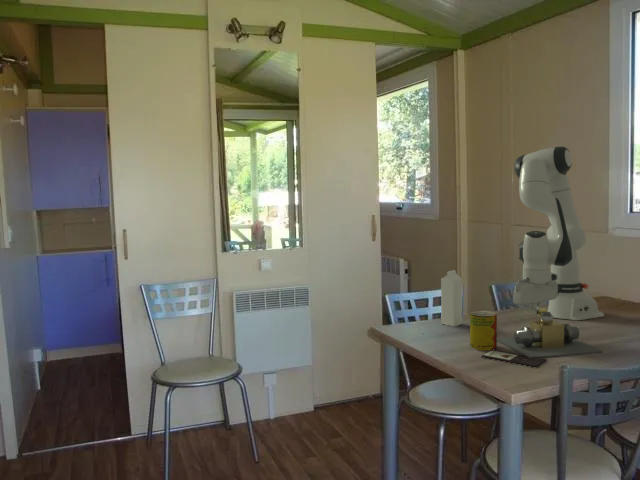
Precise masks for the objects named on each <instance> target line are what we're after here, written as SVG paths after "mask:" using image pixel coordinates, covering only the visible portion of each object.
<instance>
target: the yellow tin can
mask: <svg viewBox="0 0 640 480" xmlns="http://www.w3.org/2000/svg"><path fill="white" fill-rule="evenodd" d="M469 314H470V315H469V318H470V319H469V327H470V328H469V335H470V336H469V342H470V343H469V346H471V347H472V348H475V349H478V350H477V351H481V350H490V351H492V350H493V349H495V350H496V349H497V348H498V341H497V338H498V313H497V312H495V311H492V310H483V309H482V310H473V311H470V312H469ZM471 347H470V348H471ZM472 348H471V349H472ZM475 349H474V350H475Z"/></svg>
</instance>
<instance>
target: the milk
mask: <svg viewBox="0 0 640 480" xmlns="http://www.w3.org/2000/svg"><path fill="white" fill-rule="evenodd" d="M440 283H441V284H440V292H441V293H440V294H441V296H440V297H441V300H440V301H441V302H440V303H441V305H440V306H441V309H440V310H441V325H442V324H445V325H444V326H448V325H450V326H449V327H453V326H454V327H458V326H459V325H463V278H462V277H461V276H460V275H459V274H457V271H456V269H452V270H449V271H447V272H446V275H445V276H443V277H442V278H441V279H440Z"/></svg>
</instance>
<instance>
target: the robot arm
mask: <svg viewBox="0 0 640 480" xmlns="http://www.w3.org/2000/svg"><path fill="white" fill-rule="evenodd" d="M572 164H573V156H572V154H571V151H570V150H569V149H568V148H567V147H566V146H555V147H549V148H543V149H539V150H537V151H533V152H529V153H528V154H522V155H520V156H518V157H517V158H516V160H515V161H514V173H515V175H516V176H517V178H519V182H518V192H519V193H518V194H519V199H520V201H521V203H522V204H523V205H524V206H525V207H526V208H529V209H531V210H532V211H536V212H538V213H542V214H545V215H547V217H548V220H549V223H550V226H549V227H548V229H547V230H546V232H545V231H541V230H531V231H528V232H525V234H524V237H523V240H522V241H521V242H520V243H519V244H518V247H519V251H518V252H519V254H518V255H519V257H518V259H519V260H520V261H521V262H522V263H523V265H522V278H519V279H518V280H517V282H516V283H515V286H514V290H513V300H512V302H513V303H514V305H516V306H521V307H523V306H527V305H529V307H530V310H531V314H532V315H534V316H537V315H538V314H539V309H540V308H542V303H543V302H549V303H548V305H547V306H548V307H547V311H548V312H550V313H551V315H553V319H554V318H556V319H563V320H571V321H572V320H573V321H581V320H582V321H585V320H588V319H589V320H590V319H598V318H602V317H603V318H604V317H605V314H604V312H602V311H599V308H598V307H599V306H598V302H597V301H596V300H595V299H594V298H593V297H591V296H590V295H589V294H588V293H586V292H585V291H584V289H585V290H587V289H588V288H589V284H587V283H585V282H583V283H582V282H580V261H579V258H578V254H577V251H578V250H580V249H582V248H583V246H585V244H586V241H587V236H586V233H585V231H584V229H583V227H582V223H581V221H580V218H579V215H578V214H577V210H576V208H575V204H574V200H573V195H572V191H571V184H570V181H569V178H568V175H567V173H568V172H569V171H570V169H571V168H572V166H573V165H572ZM549 266H550V267H549ZM549 270H550V271H549ZM538 316H539V315H538Z"/></svg>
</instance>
